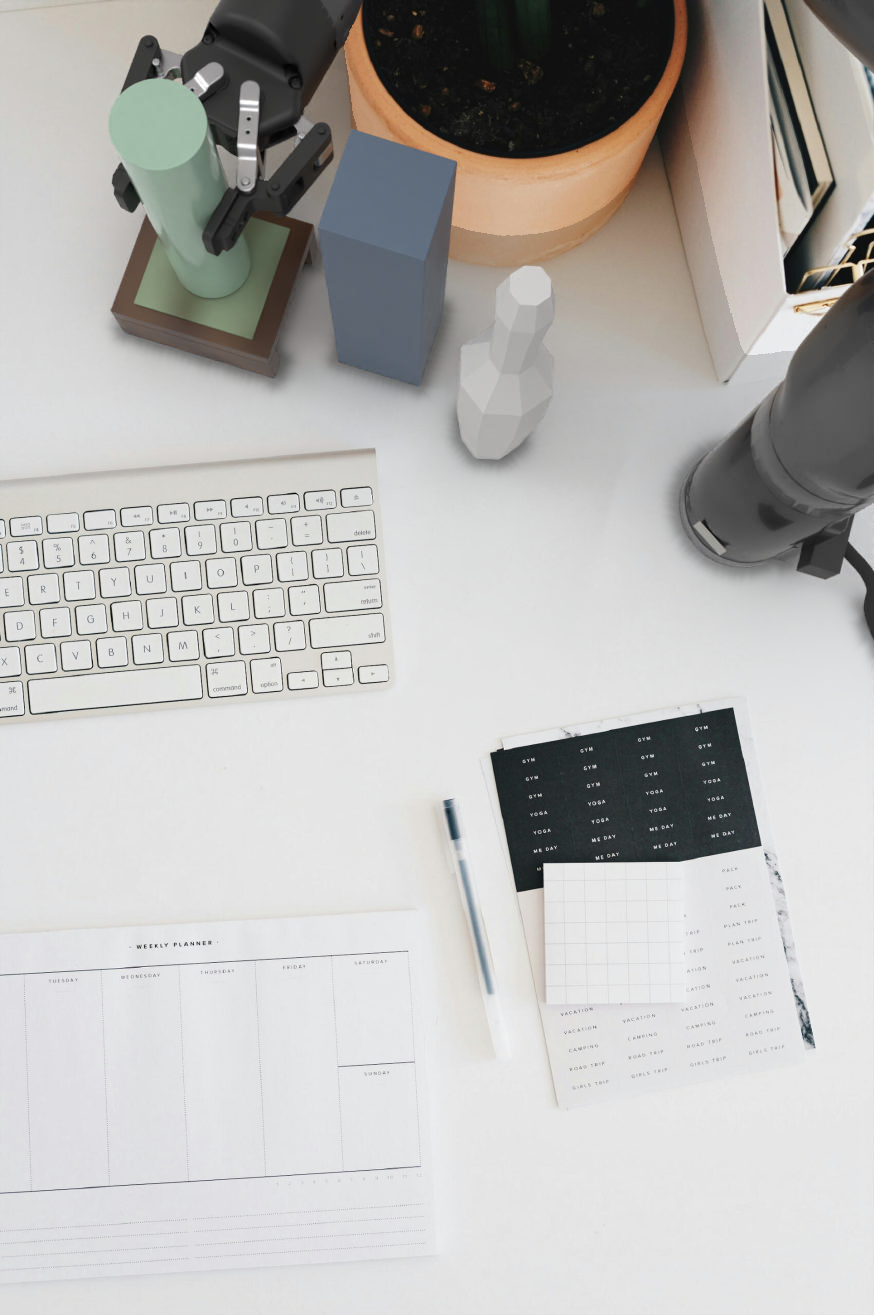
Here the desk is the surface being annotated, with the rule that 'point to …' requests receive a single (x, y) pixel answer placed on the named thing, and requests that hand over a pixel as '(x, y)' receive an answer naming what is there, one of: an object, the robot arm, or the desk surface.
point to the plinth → (387, 253)
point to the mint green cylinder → (177, 180)
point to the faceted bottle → (508, 368)
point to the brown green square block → (227, 324)
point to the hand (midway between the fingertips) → (166, 224)
